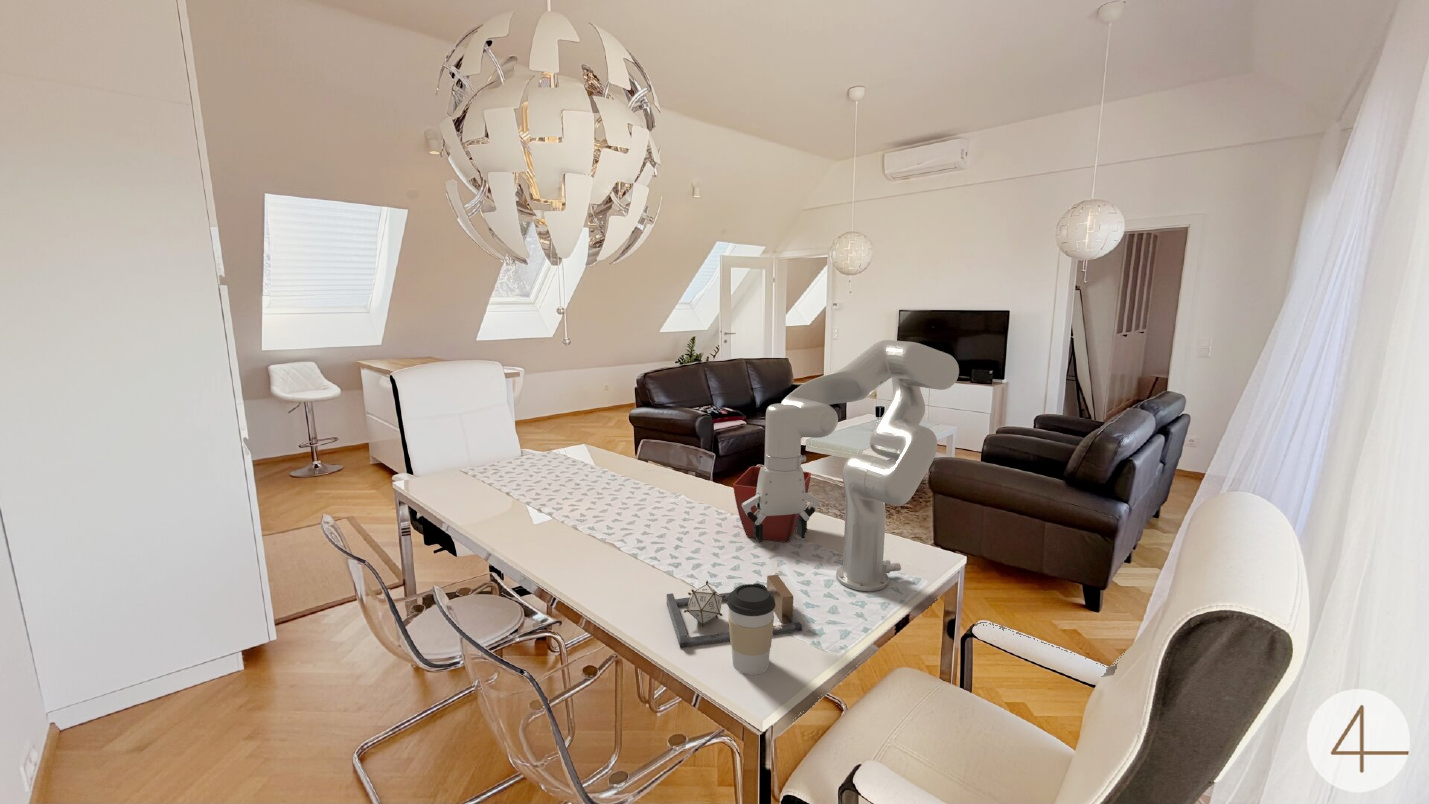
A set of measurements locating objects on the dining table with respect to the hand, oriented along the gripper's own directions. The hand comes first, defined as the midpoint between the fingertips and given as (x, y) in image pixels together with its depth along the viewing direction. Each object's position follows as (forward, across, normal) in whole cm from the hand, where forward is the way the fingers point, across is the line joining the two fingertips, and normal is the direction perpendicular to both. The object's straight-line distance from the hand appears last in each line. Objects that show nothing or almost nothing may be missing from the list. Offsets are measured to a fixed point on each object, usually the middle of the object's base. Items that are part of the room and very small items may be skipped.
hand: (779, 538), depth 126 cm
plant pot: (+17, -13, -42) cm, 47 cm away
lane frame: (+17, +11, 0) cm, 20 cm away
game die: (+18, +17, 0) cm, 24 cm away
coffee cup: (+18, +11, +16) cm, 27 cm away
